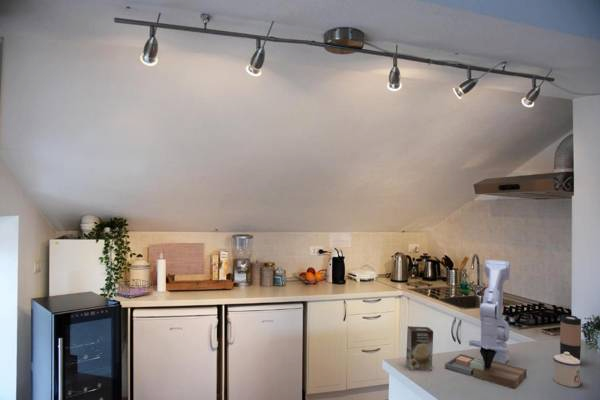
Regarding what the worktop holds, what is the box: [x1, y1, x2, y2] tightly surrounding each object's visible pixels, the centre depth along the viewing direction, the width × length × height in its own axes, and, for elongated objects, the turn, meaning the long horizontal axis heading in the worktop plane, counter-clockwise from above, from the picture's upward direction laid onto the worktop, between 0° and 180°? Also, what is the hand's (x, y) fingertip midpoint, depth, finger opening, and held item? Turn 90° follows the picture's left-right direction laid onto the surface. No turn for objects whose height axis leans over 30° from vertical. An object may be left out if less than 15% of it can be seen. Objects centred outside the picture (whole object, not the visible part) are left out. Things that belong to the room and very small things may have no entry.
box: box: [444, 353, 484, 377], centre depth 173 cm, size 16×10×2 cm, turn 137°
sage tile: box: [470, 358, 486, 370], centre depth 165 cm, size 5×5×2 cm
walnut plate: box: [472, 360, 527, 390], centre depth 164 cm, size 16×15×3 cm
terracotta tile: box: [456, 356, 472, 367], centre depth 175 cm, size 5×5×2 cm
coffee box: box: [405, 326, 434, 371], centre depth 171 cm, size 9×6×16 cm
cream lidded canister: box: [552, 352, 582, 388], centre depth 161 cm, size 12×9×12 cm
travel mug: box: [559, 314, 582, 361], centre depth 181 cm, size 8×8×20 cm
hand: (488, 367), depth 163 cm, fingers closed
